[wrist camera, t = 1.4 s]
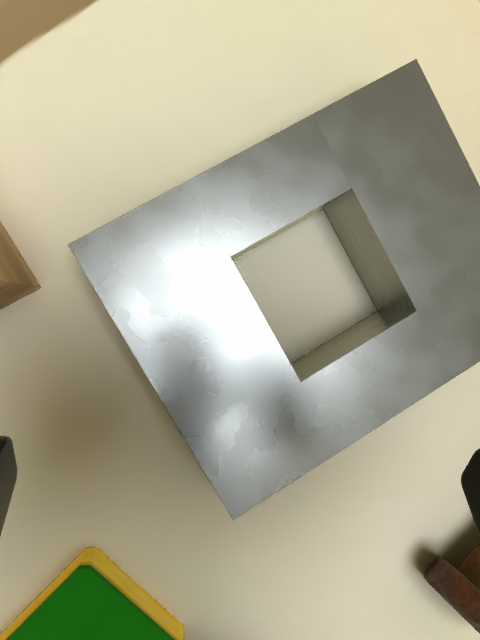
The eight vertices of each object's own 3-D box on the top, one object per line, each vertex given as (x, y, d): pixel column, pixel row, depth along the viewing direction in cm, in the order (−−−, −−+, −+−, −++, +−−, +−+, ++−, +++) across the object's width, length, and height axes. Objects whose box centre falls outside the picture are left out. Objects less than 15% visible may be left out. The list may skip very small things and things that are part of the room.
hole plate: (223, 484, 23) (232, 520, 19) (87, 256, 22) (67, 244, 18) (488, 317, 25) (545, 318, 22) (377, 100, 24) (416, 59, 20)
